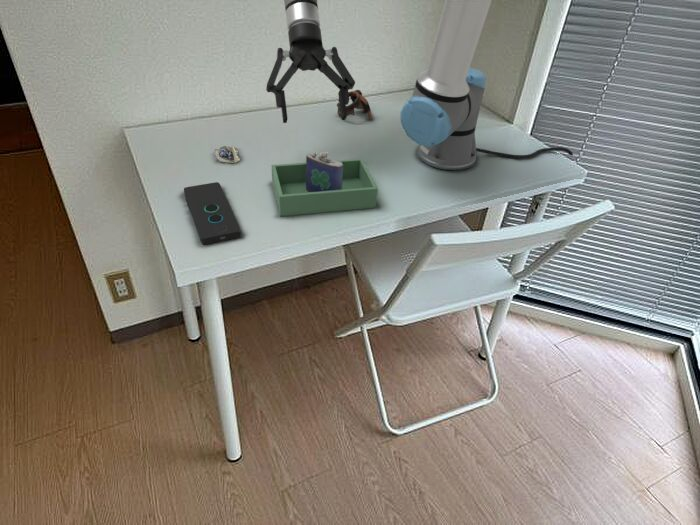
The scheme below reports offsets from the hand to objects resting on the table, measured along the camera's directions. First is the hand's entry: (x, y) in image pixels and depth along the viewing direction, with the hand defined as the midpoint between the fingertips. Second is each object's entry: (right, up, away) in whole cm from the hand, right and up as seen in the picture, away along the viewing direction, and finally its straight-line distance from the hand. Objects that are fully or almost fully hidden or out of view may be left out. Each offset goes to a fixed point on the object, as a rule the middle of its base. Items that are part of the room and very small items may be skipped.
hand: (315, 119), depth 116 cm
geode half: (-23, -6, +13) cm, 27 cm away
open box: (+2, -17, +2) cm, 17 cm away
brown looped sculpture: (+9, +11, +36) cm, 39 cm away
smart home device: (-22, -22, -6) cm, 32 cm away
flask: (+2, -17, +2) cm, 17 cm away
